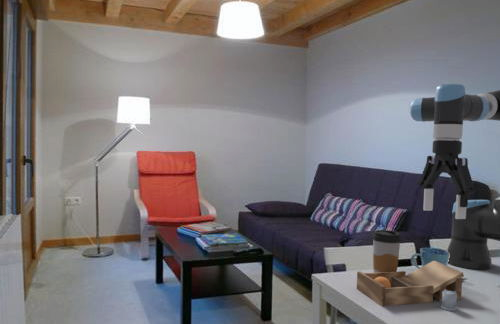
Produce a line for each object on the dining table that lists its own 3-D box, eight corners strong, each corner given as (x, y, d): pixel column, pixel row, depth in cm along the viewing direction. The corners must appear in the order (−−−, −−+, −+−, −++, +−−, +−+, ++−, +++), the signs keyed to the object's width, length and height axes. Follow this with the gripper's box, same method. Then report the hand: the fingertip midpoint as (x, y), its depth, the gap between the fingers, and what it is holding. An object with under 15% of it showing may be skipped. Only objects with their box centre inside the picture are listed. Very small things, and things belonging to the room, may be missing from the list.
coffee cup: (395, 277, 137) (397, 230, 137) (401, 286, 129) (404, 236, 128) (368, 275, 138) (370, 229, 137) (373, 284, 130) (375, 234, 129)
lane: (432, 284, 132) (434, 259, 132) (464, 299, 119) (465, 273, 119) (356, 288, 126) (357, 262, 125) (381, 305, 113) (382, 277, 113)
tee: (450, 304, 115) (450, 288, 115) (460, 310, 111) (461, 294, 111) (437, 305, 114) (437, 289, 114) (447, 311, 110) (448, 294, 110)
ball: (386, 287, 123) (371, 294, 122) (381, 271, 123) (366, 278, 122) (396, 293, 119) (381, 301, 118) (391, 276, 118) (375, 284, 117)
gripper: (493, 140, 112) (488, 222, 113) (430, 139, 136) (426, 207, 137) (468, 139, 110) (463, 223, 111) (409, 139, 134) (405, 207, 135)
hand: (443, 214), depth 124 cm, fingers open, 13 cm apart
